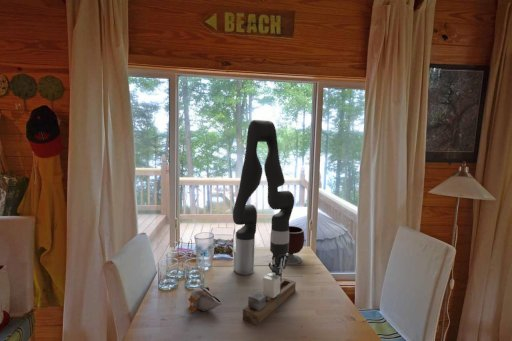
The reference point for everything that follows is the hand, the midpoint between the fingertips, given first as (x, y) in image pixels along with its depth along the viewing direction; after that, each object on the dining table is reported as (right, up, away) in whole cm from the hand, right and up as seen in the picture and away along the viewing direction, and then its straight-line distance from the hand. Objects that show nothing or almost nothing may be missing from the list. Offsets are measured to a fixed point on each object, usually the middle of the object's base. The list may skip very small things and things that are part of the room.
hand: (278, 281), depth 120 cm
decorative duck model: (-28, -8, -6) cm, 30 cm away
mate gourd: (+9, -4, +41) cm, 42 cm away
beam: (-3, -8, -3) cm, 9 cm away
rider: (-3, -6, -4) cm, 7 cm away
